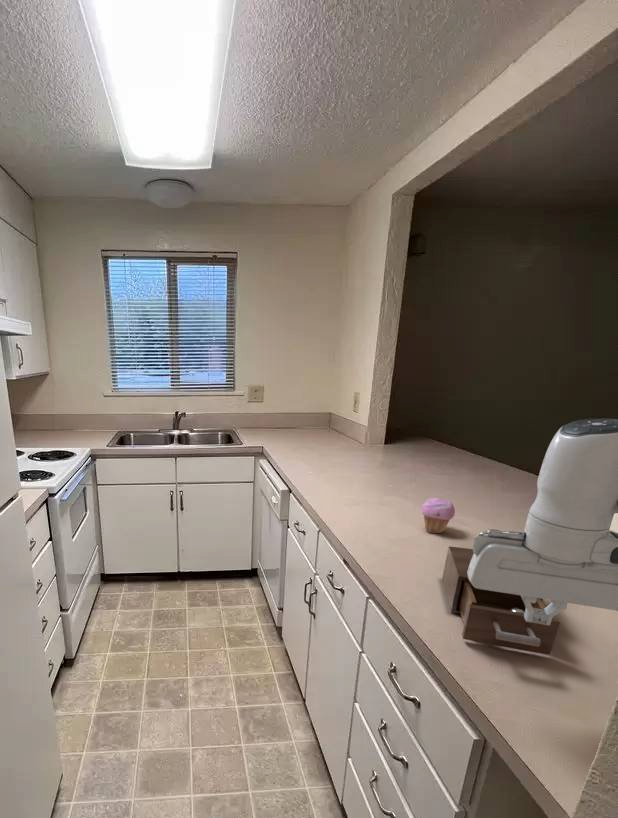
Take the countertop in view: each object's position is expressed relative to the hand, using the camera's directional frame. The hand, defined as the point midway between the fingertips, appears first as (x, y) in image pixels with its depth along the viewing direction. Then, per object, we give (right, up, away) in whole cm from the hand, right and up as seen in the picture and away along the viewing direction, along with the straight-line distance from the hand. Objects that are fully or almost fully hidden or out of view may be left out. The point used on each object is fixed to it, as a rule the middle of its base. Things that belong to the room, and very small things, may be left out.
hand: (536, 621), depth 65 cm
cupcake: (+17, +10, +63) cm, 66 cm away
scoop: (+5, -5, +17) cm, 18 cm away
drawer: (+5, -6, +16) cm, 18 cm away
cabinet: (+9, -3, +28) cm, 29 cm away
